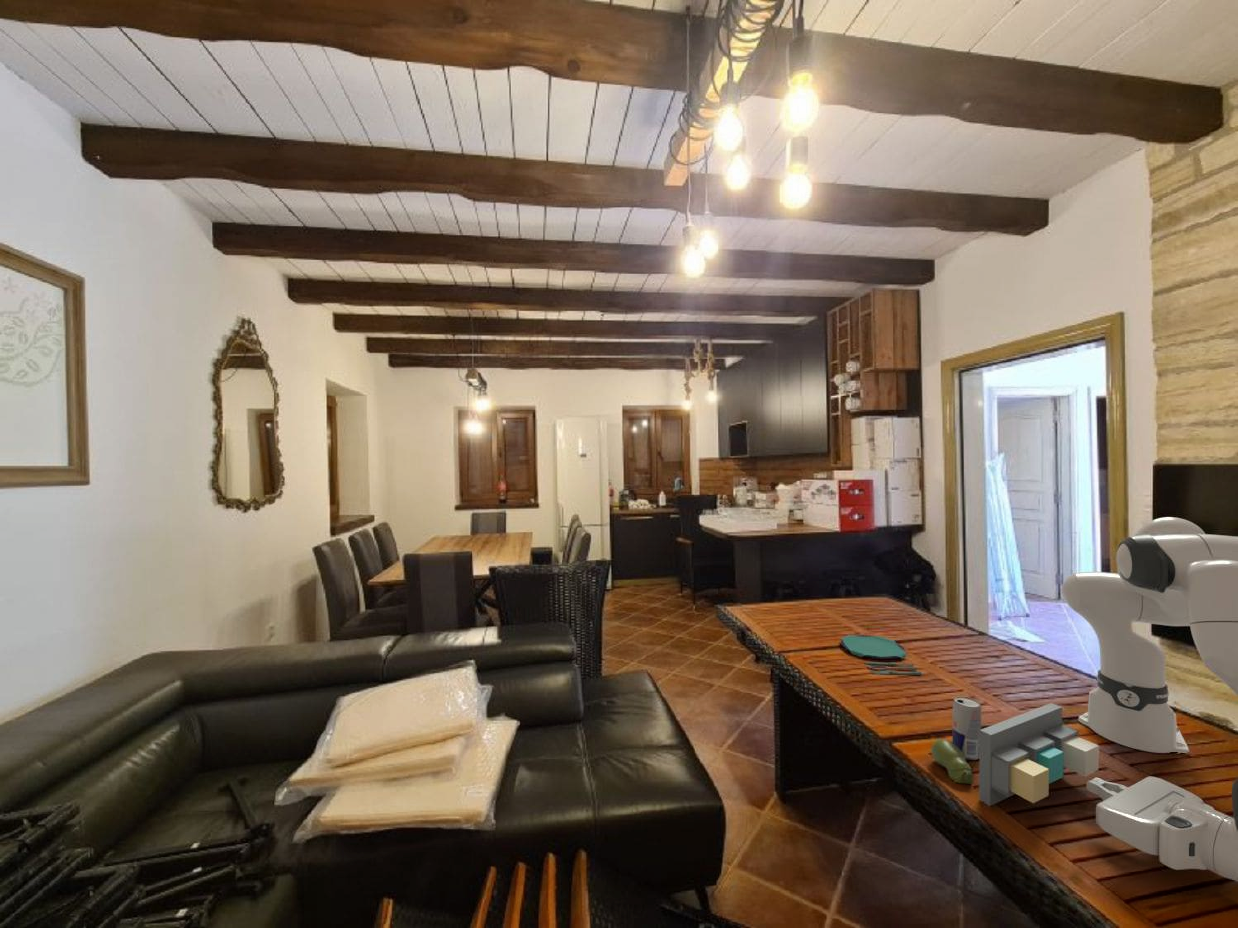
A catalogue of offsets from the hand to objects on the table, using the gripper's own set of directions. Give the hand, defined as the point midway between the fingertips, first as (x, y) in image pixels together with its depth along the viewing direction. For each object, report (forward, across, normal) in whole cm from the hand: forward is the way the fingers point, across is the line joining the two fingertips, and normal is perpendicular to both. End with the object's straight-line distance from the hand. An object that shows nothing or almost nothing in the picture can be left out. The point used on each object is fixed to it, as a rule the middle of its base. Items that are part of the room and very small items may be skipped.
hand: (1090, 782), depth 95 cm
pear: (+20, +8, +8) cm, 23 cm away
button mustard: (+6, +9, +3) cm, 11 cm away
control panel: (+10, 0, +7) cm, 12 cm away
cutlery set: (+70, -31, +8) cm, 78 cm away
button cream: (+6, -9, +3) cm, 11 cm away
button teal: (+8, 0, +3) cm, 8 cm away
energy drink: (+23, -1, +7) cm, 24 cm away
